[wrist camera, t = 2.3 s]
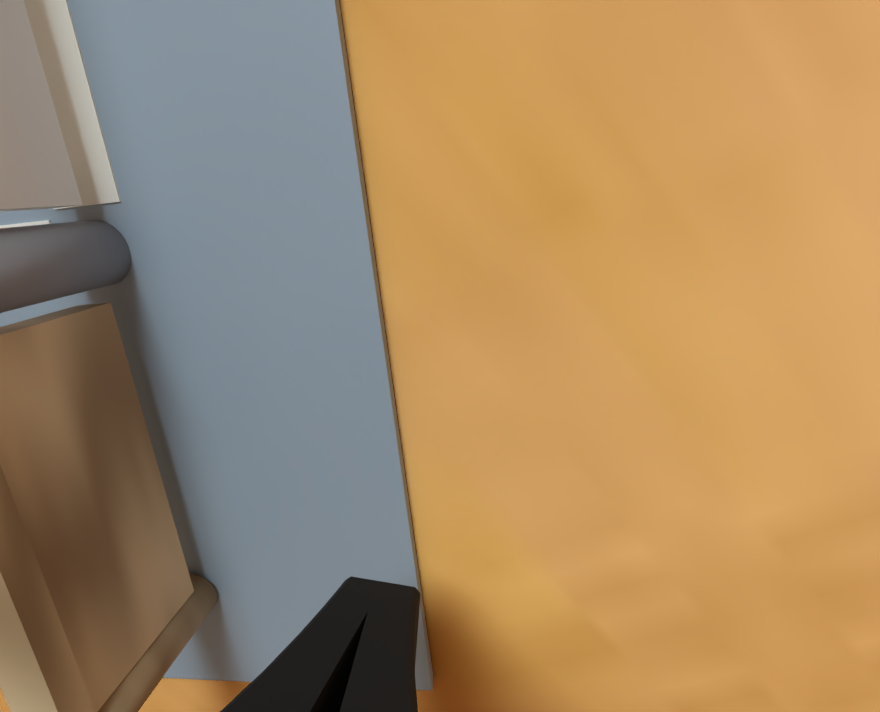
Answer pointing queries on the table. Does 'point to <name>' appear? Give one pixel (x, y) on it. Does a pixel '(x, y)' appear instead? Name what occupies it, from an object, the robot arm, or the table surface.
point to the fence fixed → (42, 186)
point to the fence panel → (84, 525)
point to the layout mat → (240, 299)
